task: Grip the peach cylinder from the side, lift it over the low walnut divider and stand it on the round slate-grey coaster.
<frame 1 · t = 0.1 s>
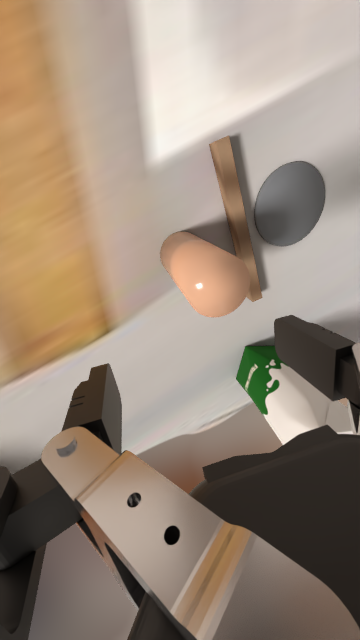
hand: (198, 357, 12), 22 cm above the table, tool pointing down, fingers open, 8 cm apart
divider: (235, 230, 32), on the table
milk carton: (257, 361, 44), on the table
coaster: (289, 206, 33), on the table
peach cylinder: (181, 254, 32), on the table
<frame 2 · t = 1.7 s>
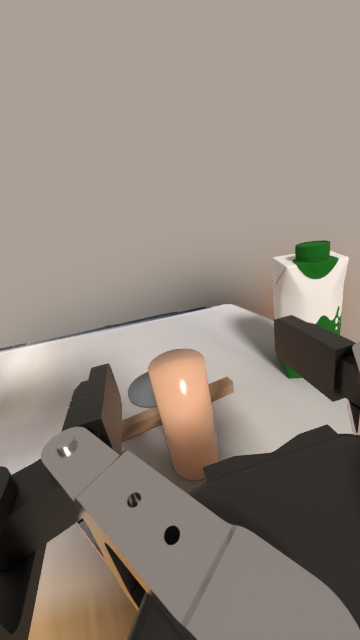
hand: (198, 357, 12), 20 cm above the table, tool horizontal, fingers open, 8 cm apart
divider: (172, 415, 36), on the table
milk carton: (304, 365, 42), on the table
coaster: (157, 386, 43), on the table
peach cylinder: (195, 456, 29), on the table
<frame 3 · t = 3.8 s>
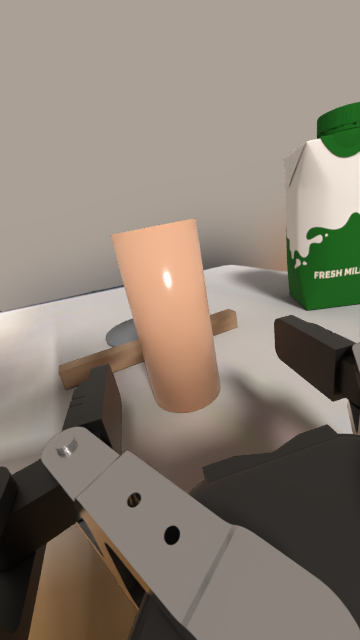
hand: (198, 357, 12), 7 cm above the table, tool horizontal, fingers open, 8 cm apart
divider: (159, 352, 28), on the table
milk carton: (324, 299, 34), on the table
coaster: (142, 330, 35), on the table
peach cylinder: (187, 388, 21), on the table
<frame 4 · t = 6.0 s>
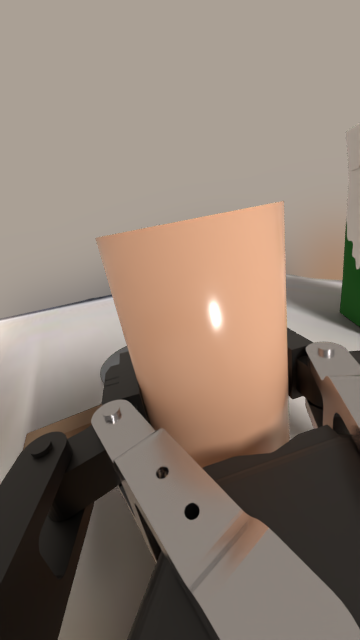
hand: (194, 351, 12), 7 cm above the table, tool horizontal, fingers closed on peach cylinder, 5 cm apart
divider: (175, 404, 19), on the table
peach cylinder: (230, 494, 12), on the table, touching gripper
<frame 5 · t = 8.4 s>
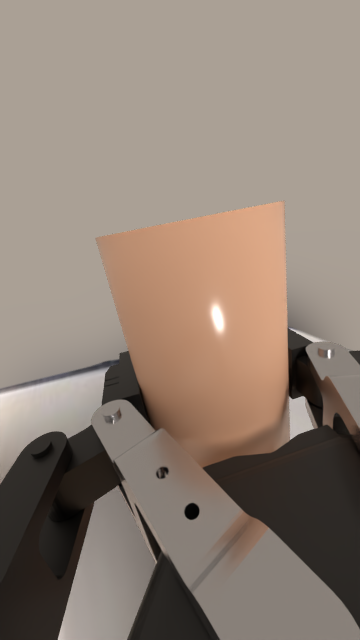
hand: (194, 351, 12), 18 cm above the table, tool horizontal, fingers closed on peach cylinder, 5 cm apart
peach cylinder: (230, 494, 12), point 11 cm above the table, touching gripper
when the fingers open (8 cm above the table, at t = 10.9 s): peach cylinder stays where it is, resting on coaster.
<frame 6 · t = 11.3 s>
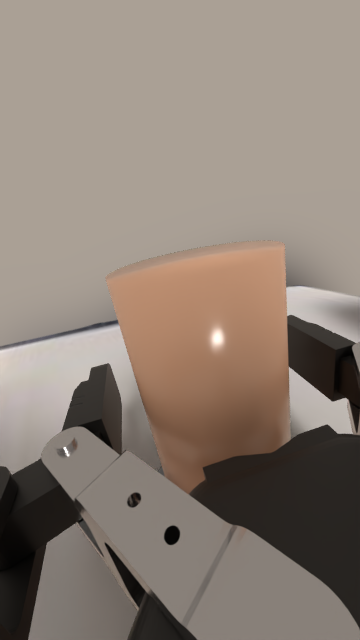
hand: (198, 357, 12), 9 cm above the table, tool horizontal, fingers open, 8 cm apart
peach cylinder: (233, 511, 13), resting on coaster
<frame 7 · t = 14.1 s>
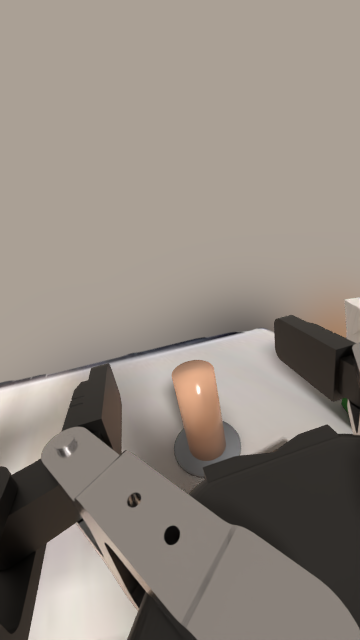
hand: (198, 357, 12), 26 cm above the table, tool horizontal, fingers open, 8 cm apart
coaster: (207, 445, 37), on the table
peach cylinder: (207, 444, 37), resting on coaster
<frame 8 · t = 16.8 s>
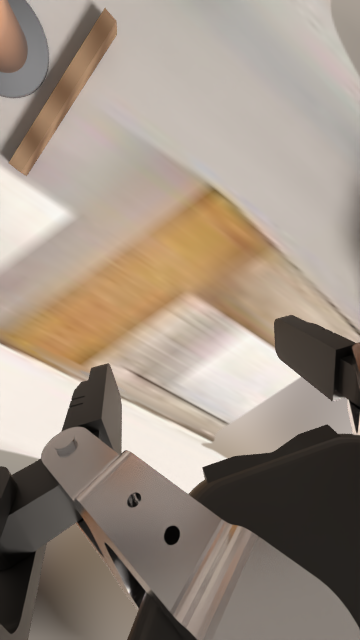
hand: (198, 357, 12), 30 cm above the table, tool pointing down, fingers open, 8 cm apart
divider: (64, 102, 31), on the table
coaster: (0, 42, 28), on the table
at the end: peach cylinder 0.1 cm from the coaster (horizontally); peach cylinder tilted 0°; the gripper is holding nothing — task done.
